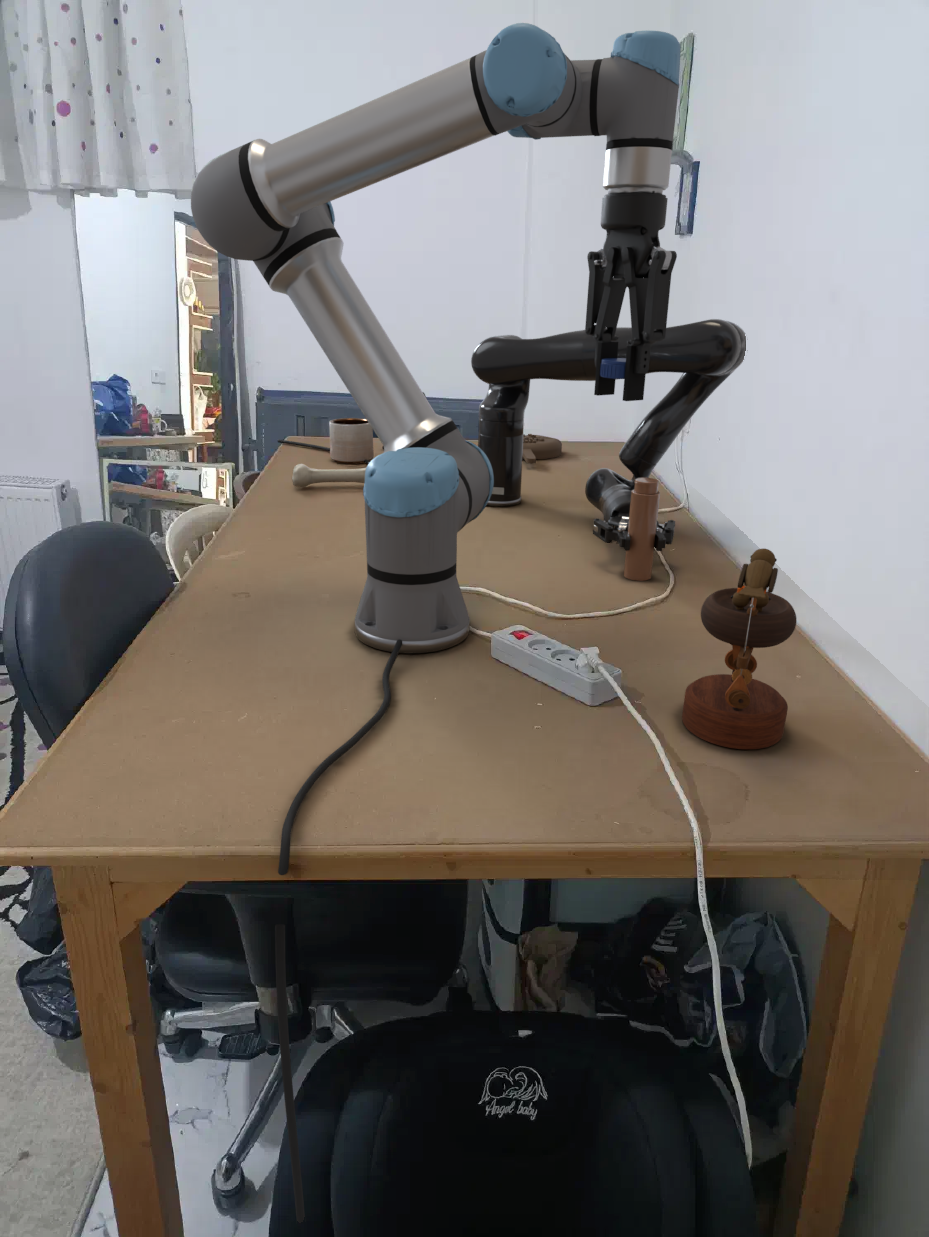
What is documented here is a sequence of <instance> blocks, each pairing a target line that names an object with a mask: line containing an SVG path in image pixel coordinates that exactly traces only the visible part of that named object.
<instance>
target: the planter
mask: <svg viewBox="0 0 929 1237" xmlns="http://www.w3.org/2000/svg"><path fill="white" fill-rule="evenodd" d="M328 424H329V425H328V426H329V448H330V451H329V453H330V454H329V455H330V456H329V457H330V459H331V460H332V461H333V462H335V463H341V464H363V463H364V460H365V459H366V460H369V461H371V460H372V459H373V458H375V457H374V456H375V455H374V452H375V451H374V450H375V449H374V430H373V428H372V427H371V425H370V424H369V422H368V421H367V419H366V418H362V417H361V418H360V417H342V418H341V417H340V418H335V419H334V418H333V419H331V420H329V421H328Z"/></svg>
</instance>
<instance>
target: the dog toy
mask: <svg viewBox="0 0 929 1237" xmlns="http://www.w3.org/2000/svg"><path fill="white" fill-rule="evenodd" d="M366 468H367V466H366V467H362V468H349V469H348V468H342V469H341V468H336V469H333V468H332V469H326V468H325V469H320V468H312V467H309V466H307V465H306V464H304V463H298V464H296V465H294V468H293V470H292V476H291V481H292V486H294V487H295V488H296V487H297V488H305V487H308V486H309V485H314V484H320V483H321V484H322V483H360V484H364V483H365V471H366Z"/></svg>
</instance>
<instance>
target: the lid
mask: <svg viewBox="0 0 929 1237" xmlns="http://www.w3.org/2000/svg"><path fill="white" fill-rule="evenodd" d="M625 366H626V358H605V359H602V363H601V368H600V376H601V377H604V378H612V379H617V380H624V377H625Z"/></svg>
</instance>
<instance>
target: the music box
mask: <svg viewBox="0 0 929 1237" xmlns="http://www.w3.org/2000/svg"><path fill="white" fill-rule="evenodd" d="M749 557H750V563H743V565H742V568H741V571H740V574H739V577H738V580H737V585H736V586H737V587H732V588H729V587H728V588H722V589H718V590H716V591H714V592H712V593H711V594H709V595H708V597H706V598H705V600H704V601H703V603H702V605H701V608H700V620H701V623H702V625H703V627H704V628H705V630H706V631H707V632H708V633H709V634H710V636H712V637H714V638H715V639H716V640H719V641H721V642H723V643H726V644H729V645H730V646H732V649H730V650H729V651H727V652H726V654H725V656H724V663H725V665H726V667H727V668H728V669H730V670H732V671H731V674H727V673H725V674H724V673H722V674H721V673H720V674H710V675H705V676H702V677H700V678H697V679H696V680H694V681H692V682H691V683H690V684H688V685H687V686H686V688H685V691H684V698H683V707H682V714H681V721H682V724H683V726H685V728H686V729H687V730H688V731H689V732H690V733H691V734H693V735H694V736H696V737H698V738H699V739H701V740H704V742H705V741H706V742H708V743H710V744H714V745H717V746H721V747H725V748H730V749H738V750H759V749H764V748H769V747H771V746H774V745H775V744H777V743H778V742H780V741H781V740H782V738H783V737H784V731H785V726H786V721H787V716H788V709H789V706H788V702H787V701H786V698H784V696H783V695H782V694H781V693H780V692H779V691H778V690H777V689H775V687H772V686H771V685H769V684H768V683H765V682H764V681H761V680H758V679H755V678H753V673H754V672H755V671H756V669H757V668H758V661H757V659H756V657H755V656H754V655H753V654H752V653H753V650H754V649H763V648H764V649H765V648H771V647H775V646H778V645H780V644H783V643H784V642H786V641H787V640H788V639H790V638H791V636H792V635H793V634H794V632H795V630H796V627H797V613H796V611H795V608H794V607H793V606H792V604H791V603H790V602H789V601H788V600H787V599H785V598H784V597H782V596H780V595H777V594H776V593H773V592H774V589H775V586H776V582H777V578H778V574H779V573H778V572H779V569H778V567H774V566H775V564H776V562H777V560H778V559H777V558H776V556H775V554H774V552H773V551H772V550H771V549H769V548H759V549H756V550H754V552H753V553H752V554H751V555H750V556H749Z"/></svg>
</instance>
